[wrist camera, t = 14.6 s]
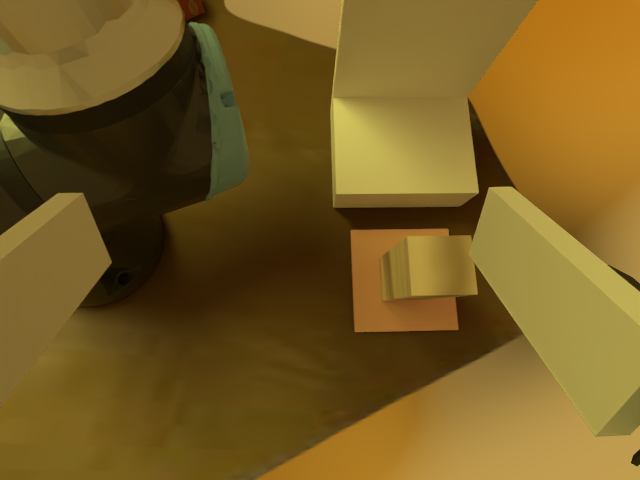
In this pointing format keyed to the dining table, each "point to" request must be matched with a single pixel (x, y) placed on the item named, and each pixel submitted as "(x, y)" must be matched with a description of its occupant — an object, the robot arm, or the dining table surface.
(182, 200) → the robot arm
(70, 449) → the dining table surface
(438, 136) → the l-shaped bookend
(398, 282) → the maple block
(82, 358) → the dining table surface
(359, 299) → the tile pad
